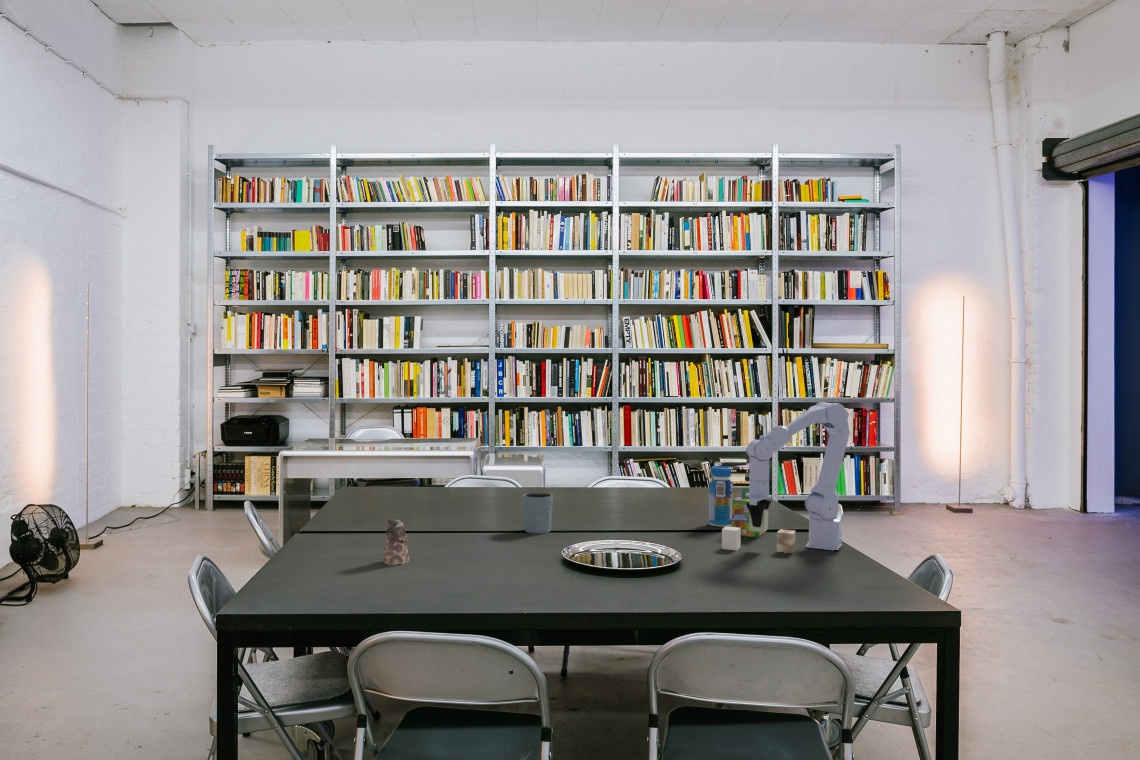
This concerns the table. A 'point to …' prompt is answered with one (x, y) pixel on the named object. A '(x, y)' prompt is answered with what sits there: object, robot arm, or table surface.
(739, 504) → the chalk box
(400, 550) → the figurine
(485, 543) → the table surface
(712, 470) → the beverage bottle
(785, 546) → the birch block
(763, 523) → the sage green block
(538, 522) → the blue-gray cup
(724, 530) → the off-white block
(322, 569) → the table surface
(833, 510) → the robot arm
